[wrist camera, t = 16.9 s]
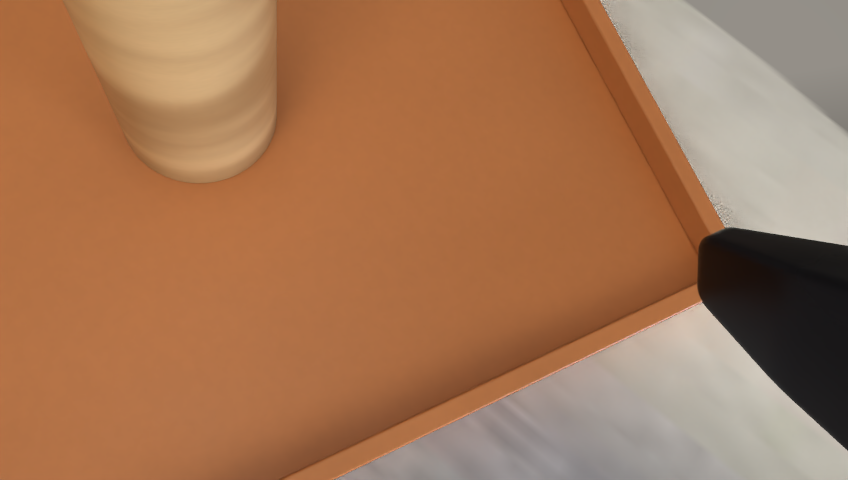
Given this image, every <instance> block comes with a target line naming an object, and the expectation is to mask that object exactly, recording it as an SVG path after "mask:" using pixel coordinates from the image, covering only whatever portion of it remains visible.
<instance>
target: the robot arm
mask: <svg viewBox="0 0 848 480" xmlns="http://www.w3.org/2000/svg"><path fill="white" fill-rule="evenodd" d="M697 290H698V294H699V296H700V299H701V300H702V302H703V304H704V305H705V306H706V307H707V309H708V310H709V311H710V312H711V313H712V314H713V315H714V316H715V317H716V319H717V320H718V321H719V322H720V323H721V324H722V325H723V326H724V327H725V329H726V330H727V331H728V332H729V333H730V334H731V335H732V336H733V337H734V339H735V340H736V341H737V342H738V343H739V344H740V345H741V346H742V347H743V349H744V350H745V351H746V352H747V353H748V354H749V355H750V356H751V357H752V359H753V360H754V361H755V362H756V363H757V364H758V365H759V366H760V368H761V369H762V370H763V371H764V372H765V373H766V374H767V375H768V376H769V377H770V378H771V379H772V380H773V381H774V383H775V384H776V385H777V386H778V387H779V388H780V389H781V390H782V391H783V392H785V393H786V394H787V395H788V396H789V397H790V398H791V399H792V400H793V401H794V402H795V403H796V404H797V405H798V406H799V407H801V408H802V409H803V410H804V411H805V412H806V413H807V414H808V415H809V416H810V417H812V418H813V419H814V420H815V421H816V422H817V423H818V424H819V425H820V426H821V427H822V428H824V429H825V430H826V431H827V432H828V433H829V434H830V435H831V436H832V437H833V438H835V439H836V440H837V441H838V442H839V443H840V444H841V445H842V446H843V447H844V448H845V449H847V450H848V246H845V245H839V244H833V243H826V242H820V241H814V240H808V239H801V238H795V237H789V236H783V235H777V234H770V233H764V232H758V231H752V230H746V229H739V228H732V227H728V228H724V229H721V230H719V231H717V232H715V233H712V234H710V235H708V236H706V237H704V238H703V239H702V240H701V242H700V244H699V248H698V273H697Z"/></svg>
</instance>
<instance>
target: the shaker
mask: <svg viewBox="0 0 848 480" xmlns="http://www.w3.org/2000/svg"><path fill="white" fill-rule="evenodd" d="M63 3H64V5H65V7H66V9H67V11H68V13H69V16H70V18H71V20H72V22H73V24H74V27H75V29H76V31H77V33H78V35H79V37H80V40H81V42H82V44H83V46H84V48H85V50H86V53H87V55H88V57H89V59H90V61H91V64H92V66H93V68H94V70H95V72H96V74H97V77H98V79H99V81H100V83H101V85H102V88H103V90H104V92H105V94H106V96H107V98H108V101H109V103H110V105H111V107H112V109H113V112H114V114H115V116H116V118H117V120H118V122H119V125H120V127H121V129H122V131H123V133H124V136H125V138H126V140H127V142H128V144H129V146H130V147H131V149H132V150H133V152H134V153H135V154H136V155H137V157H138V158H139V159H140V160H141V161H142V162H143V163H145V164H146V165H147V166H148V167H149V168H151V169H152V170H154V171H156V172H157V173H159V174H161V175H163V176H165V177H168V178H171V179H174V180H177V181H182V182H187V183H211V182H217V181H221V180H225V179H228V178H231V177H233V176H235V175H238V174H239V173H241V172H243V171H245V170H246V169H248V168H249V167H250V166H252V165H253V164H254V163H255V162H256V161H257V160H258V159H259V158H260V157H261V156H262V155H263V153H264V152H265V151H266V149H267V147H268V146H269V144H270V142H271V140H272V137H273V135H274V131H275V127H276V120H277V0H63Z"/></svg>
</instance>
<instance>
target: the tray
mask: <svg viewBox="0 0 848 480" xmlns="http://www.w3.org/2000/svg"><path fill="white" fill-rule="evenodd" d="M724 228H725V227H724V225H723V224H722V222H721V220H720V218H719V216H718V214H717V213H716V211H715V209H714V207H713V205H712V204H711V202H710V200H709V198H708V196H707V195H706V193H705V191H704V189H703V187H702V185H701V184H700V182H699V180H698V178H697V176H696V175H695V173H694V171H693V169H692V167H691V165H690V164H689V162H688V160H687V158H686V156H685V155H684V153H683V151H682V149H681V147H680V145H679V144H678V142H677V140H676V138H675V136H674V135H673V133H672V131H671V129H670V127H669V125H668V124H667V122H666V120H665V118H664V116H663V115H662V113H661V111H660V109H659V107H658V105H657V104H656V102H655V100H654V98H653V96H652V95H651V93H650V91H649V89H648V87H647V85H646V84H645V82H644V80H643V78H642V76H641V75H640V73H639V71H638V69H637V67H636V65H635V64H634V62H633V60H632V58H631V56H630V55H629V53H628V51H627V49H626V47H625V45H624V44H623V42H622V40H621V38H620V36H619V35H618V33H617V31H616V29H615V27H614V25H613V24H612V22H611V20H610V18H609V16H608V15H607V13H606V11H605V9H604V7H603V6H602V4H601V2H600V0H277V120H276V127H275V131H274V135H273V137H272V140H271V142H270V144H269V146H268V147H267V149H266V151H265V152H264V153H263V155H262V156H261V157H260V158H259V159H258V160H257V161H256V162H255V163H254V164H253V165H252V166H250V167H249V168H248V169H246V170H245V171H243V172H241V173H239V174H238V175H235V176H233V177H231V178H228V179H225V180H221V181H217V182H211V183H187V182H182V181H177V180H174V179H171V178H168V177H165V176H163V175H161V174H159V173H157V172H156V171H154V170H152V169H151V168H149V167H148V166H147V165H146V164H145V163H143V162H142V161H141V160H140V159H139V158H138V157H137V155H136V154H135V153H134V152H133V150H132V149H131V147H130V146H129V144H128V142H127V140H126V138H125V136H124V133H123V131H122V129H121V127H120V125H119V122H118V120H117V118H116V116H115V114H114V112H113V109H112V107H111V105H110V103H109V101H108V98H107V96H106V94H105V92H104V90H103V88H102V85H101V83H100V81H99V79H98V77H97V74H96V72H95V70H94V68H93V66H92V64H91V61H90V59H89V57H88V55H87V53H86V50H85V48H84V46H83V44H82V42H81V40H80V37H79V35H78V33H77V31H76V29H75V27H74V24H73V22H72V20H71V18H70V16H69V13H68V11H67V9H66V7H65V5H64V3H63V0H0V480H334V479H336V478H338V477H340V476H342V475H344V474H346V473H348V472H350V471H353V470H355V469H357V468H359V467H361V466H363V465H365V464H367V463H369V462H371V461H373V460H375V459H377V458H380V457H382V456H384V455H386V454H388V453H390V452H392V451H394V450H396V449H398V448H400V447H402V446H404V445H407V444H409V443H411V442H413V441H415V440H417V439H419V438H421V437H423V436H425V435H427V434H429V433H431V432H434V431H436V430H438V429H440V428H442V427H444V426H446V425H448V424H450V423H452V422H454V421H456V420H458V419H461V418H463V417H465V416H467V415H469V414H471V413H473V412H475V411H477V410H479V409H481V408H483V407H485V406H488V405H490V404H492V403H494V402H496V401H498V400H500V399H502V398H504V397H506V396H508V395H510V394H512V393H515V392H517V391H519V390H521V389H523V388H525V387H527V386H529V385H531V384H533V383H535V382H537V381H539V380H542V379H544V378H546V377H548V376H550V375H552V374H554V373H556V372H558V371H560V370H562V369H564V368H566V367H569V366H571V365H573V364H575V363H577V362H579V361H581V360H583V359H585V358H587V357H589V356H591V355H593V354H596V353H598V352H600V351H602V350H604V349H606V348H608V347H610V346H612V345H614V344H616V343H618V342H620V341H623V340H625V339H627V338H629V337H631V336H633V335H635V334H637V333H639V332H641V331H643V330H645V329H647V328H650V327H652V326H654V325H656V324H658V323H660V322H662V321H664V320H666V319H668V318H670V317H672V316H674V315H677V314H679V313H681V312H683V311H685V310H687V309H689V308H691V307H693V306H695V305H697V304H699V303H701V302H702V300H701V299H700V296H699V294H698V290H697V273H698V248H699V244H700V242H701V240H702V239H703V238H704V237H706V236H708V235H710V234H712V233H715V232H717V231H719V230H721V229H724Z"/></svg>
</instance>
